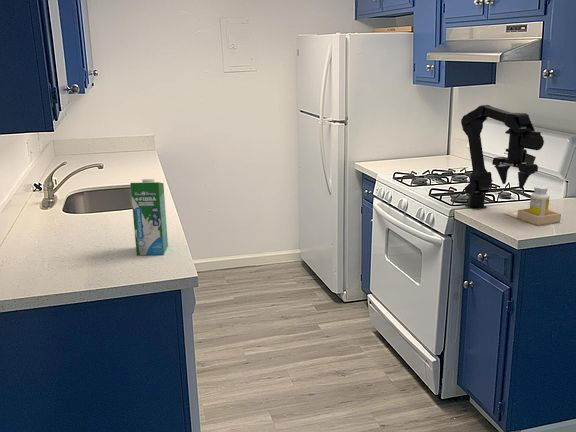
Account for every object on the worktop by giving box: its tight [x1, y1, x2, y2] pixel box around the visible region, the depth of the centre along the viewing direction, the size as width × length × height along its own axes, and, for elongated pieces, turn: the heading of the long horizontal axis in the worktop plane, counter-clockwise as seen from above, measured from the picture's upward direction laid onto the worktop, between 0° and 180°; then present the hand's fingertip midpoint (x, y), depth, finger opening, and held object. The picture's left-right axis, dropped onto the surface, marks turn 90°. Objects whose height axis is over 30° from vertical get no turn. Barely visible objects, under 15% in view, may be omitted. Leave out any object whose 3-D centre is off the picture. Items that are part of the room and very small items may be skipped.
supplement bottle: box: [529, 185, 550, 217], centre depth 226 cm, size 7×7×13 cm
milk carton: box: [130, 178, 169, 256], centre depth 196 cm, size 9×9×25 cm
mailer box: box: [503, 207, 562, 227], centre depth 231 cm, size 18×11×4 cm, turn 22°
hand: (512, 186), depth 228 cm, fingers open, 9 cm apart
